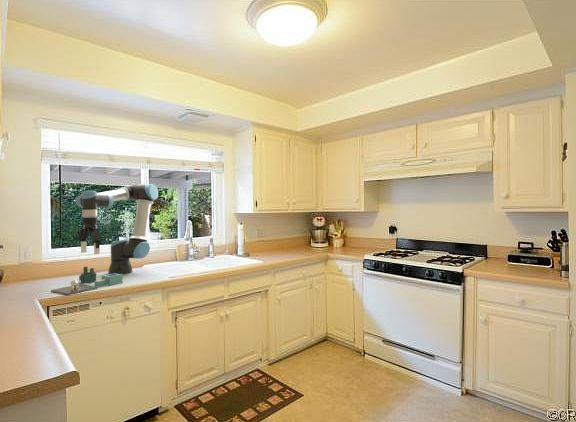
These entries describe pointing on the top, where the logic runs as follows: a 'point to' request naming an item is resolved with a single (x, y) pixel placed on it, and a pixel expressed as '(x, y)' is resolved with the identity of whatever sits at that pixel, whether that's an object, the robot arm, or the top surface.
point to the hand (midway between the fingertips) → (90, 253)
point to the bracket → (88, 276)
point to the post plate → (80, 289)
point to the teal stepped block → (109, 280)
